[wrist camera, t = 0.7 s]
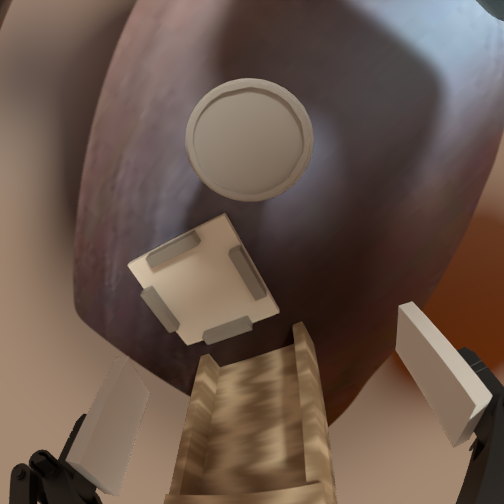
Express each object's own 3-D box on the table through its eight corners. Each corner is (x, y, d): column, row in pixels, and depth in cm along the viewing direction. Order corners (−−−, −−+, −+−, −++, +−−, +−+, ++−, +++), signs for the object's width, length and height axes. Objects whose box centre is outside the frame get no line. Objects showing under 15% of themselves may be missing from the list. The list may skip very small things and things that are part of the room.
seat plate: (225, 212, 34) (222, 219, 32) (279, 308, 39) (279, 319, 37) (130, 261, 37) (122, 270, 35) (188, 341, 43) (185, 352, 40)
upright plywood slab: (300, 318, 40) (325, 540, 13) (313, 344, 42) (340, 542, 15) (199, 353, 44) (156, 537, 16) (216, 375, 46) (189, 546, 18)
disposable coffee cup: (241, 192, 33) (229, 229, 22) (194, 124, 30) (156, 126, 19) (313, 149, 30) (340, 163, 19) (266, 77, 27) (268, 51, 16)
